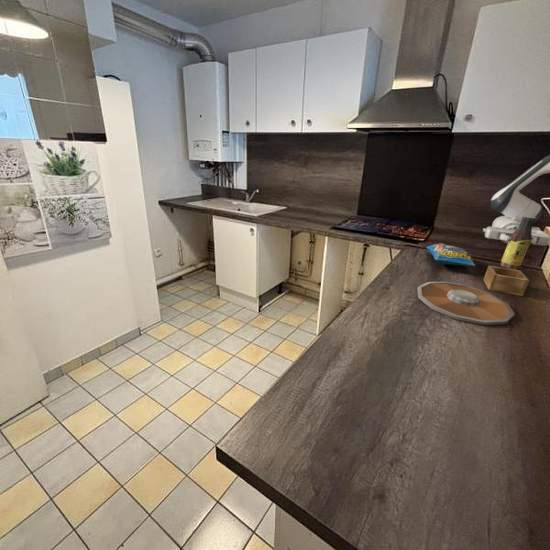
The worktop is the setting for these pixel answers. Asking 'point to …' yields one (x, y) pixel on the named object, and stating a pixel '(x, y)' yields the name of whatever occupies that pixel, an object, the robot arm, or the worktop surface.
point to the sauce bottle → (518, 244)
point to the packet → (450, 255)
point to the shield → (465, 303)
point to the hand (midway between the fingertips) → (521, 240)
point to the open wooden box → (505, 280)
